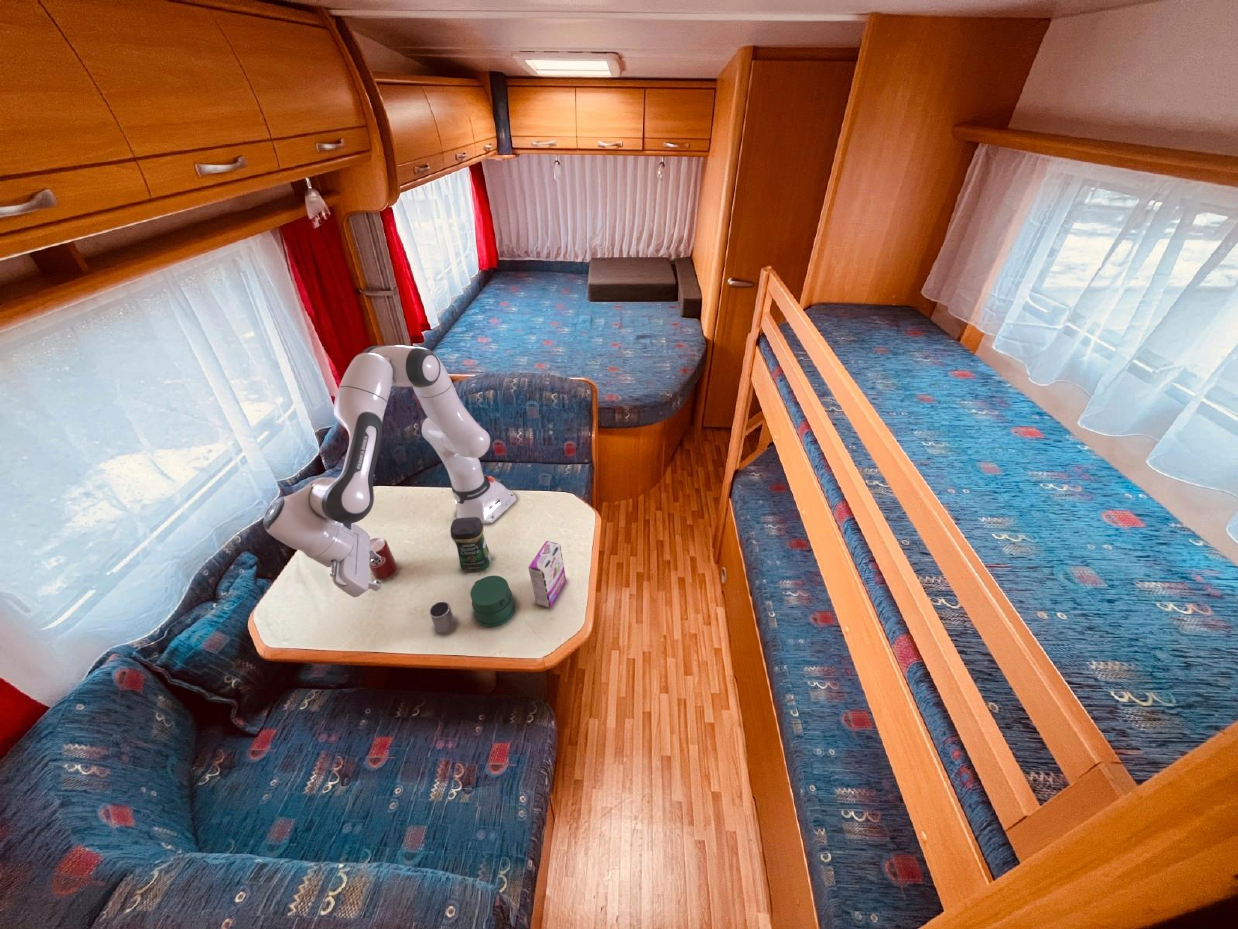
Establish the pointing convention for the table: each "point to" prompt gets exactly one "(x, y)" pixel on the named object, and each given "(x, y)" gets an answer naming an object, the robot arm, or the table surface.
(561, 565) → the candy bar box
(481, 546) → the coffee jar
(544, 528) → the table surface
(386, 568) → the soda can
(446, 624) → the steel cup
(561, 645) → the table surface
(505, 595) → the bucket
